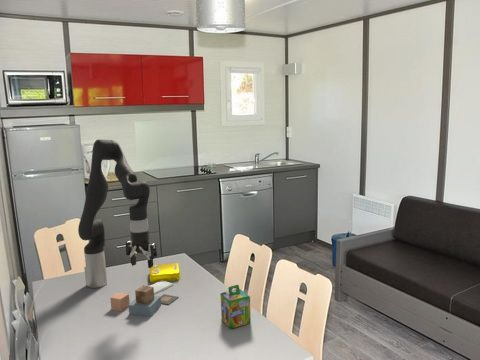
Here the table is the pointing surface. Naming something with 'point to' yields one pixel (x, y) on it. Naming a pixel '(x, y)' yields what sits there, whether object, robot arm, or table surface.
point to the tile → (167, 299)
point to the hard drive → (161, 286)
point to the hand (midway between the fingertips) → (142, 266)
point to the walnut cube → (144, 294)
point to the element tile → (164, 272)
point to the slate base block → (145, 307)
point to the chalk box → (235, 307)
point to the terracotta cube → (119, 301)
